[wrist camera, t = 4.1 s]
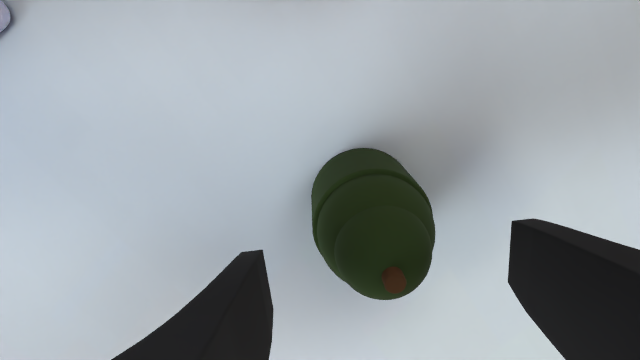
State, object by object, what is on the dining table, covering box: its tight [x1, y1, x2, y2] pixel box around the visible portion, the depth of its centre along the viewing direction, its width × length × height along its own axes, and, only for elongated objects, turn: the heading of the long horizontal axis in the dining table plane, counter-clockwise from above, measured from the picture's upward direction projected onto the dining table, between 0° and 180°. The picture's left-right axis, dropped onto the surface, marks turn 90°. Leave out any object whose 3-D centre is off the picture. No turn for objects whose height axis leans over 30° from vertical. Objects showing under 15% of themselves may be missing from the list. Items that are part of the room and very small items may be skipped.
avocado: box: [311, 148, 435, 300], centre depth 13 cm, size 4×4×6 cm
